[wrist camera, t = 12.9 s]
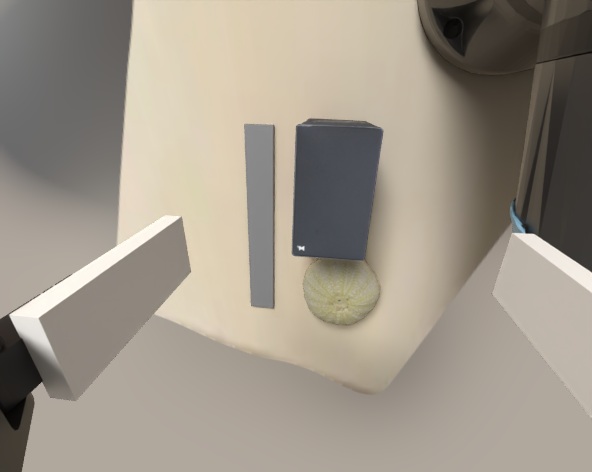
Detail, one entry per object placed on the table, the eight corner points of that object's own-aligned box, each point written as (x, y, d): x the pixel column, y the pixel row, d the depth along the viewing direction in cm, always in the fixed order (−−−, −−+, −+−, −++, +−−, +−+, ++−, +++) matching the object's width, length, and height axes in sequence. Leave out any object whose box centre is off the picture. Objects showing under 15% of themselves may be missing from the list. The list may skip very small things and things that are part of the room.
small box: (358, 220, 33) (367, 265, 24) (301, 215, 34) (288, 258, 25) (371, 120, 29) (388, 127, 20) (305, 117, 30) (291, 123, 20)
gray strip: (273, 125, 30) (273, 125, 30) (273, 306, 40) (273, 308, 39) (245, 123, 31) (244, 124, 30) (252, 303, 40) (251, 306, 40)
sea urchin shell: (294, 315, 38) (297, 309, 30) (307, 258, 40) (313, 239, 33) (363, 333, 37) (384, 330, 30) (372, 274, 40) (393, 258, 33)
